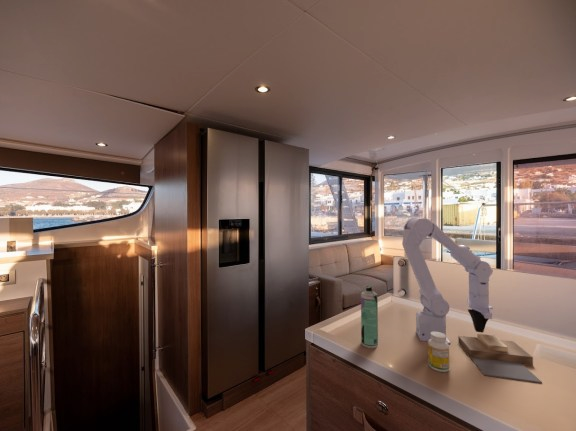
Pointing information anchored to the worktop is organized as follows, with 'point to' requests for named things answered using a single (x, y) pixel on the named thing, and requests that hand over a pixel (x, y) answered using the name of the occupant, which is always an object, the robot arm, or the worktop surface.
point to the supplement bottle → (438, 352)
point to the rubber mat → (505, 370)
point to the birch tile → (492, 342)
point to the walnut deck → (480, 351)
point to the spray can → (369, 318)
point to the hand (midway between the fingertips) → (479, 331)
